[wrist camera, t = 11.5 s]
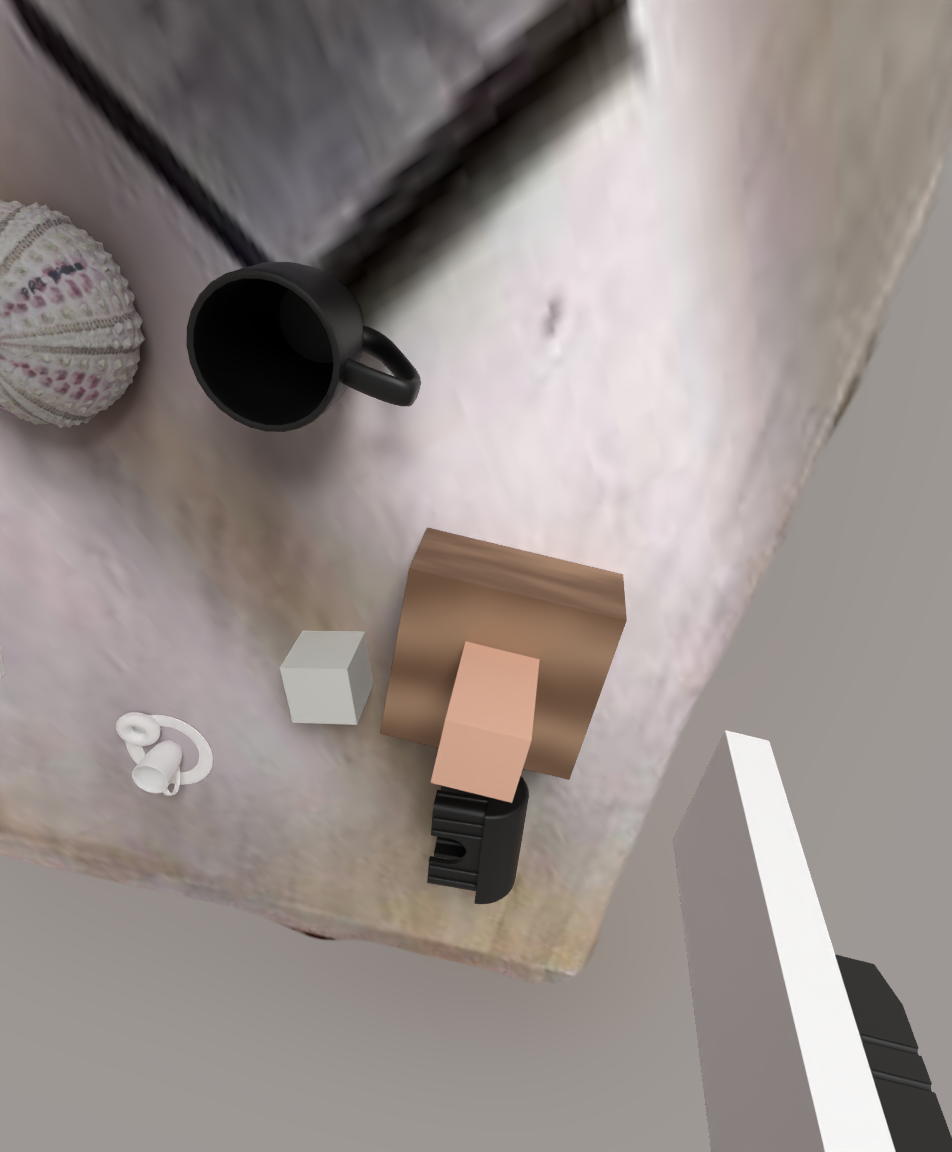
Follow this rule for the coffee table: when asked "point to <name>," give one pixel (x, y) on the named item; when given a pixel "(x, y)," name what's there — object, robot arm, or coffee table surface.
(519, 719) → the terracotta block
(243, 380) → the mug
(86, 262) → the sea urchin shell
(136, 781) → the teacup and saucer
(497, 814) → the end cap
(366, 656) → the grey cube
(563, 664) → the walnut block
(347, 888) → the coffee table surface
